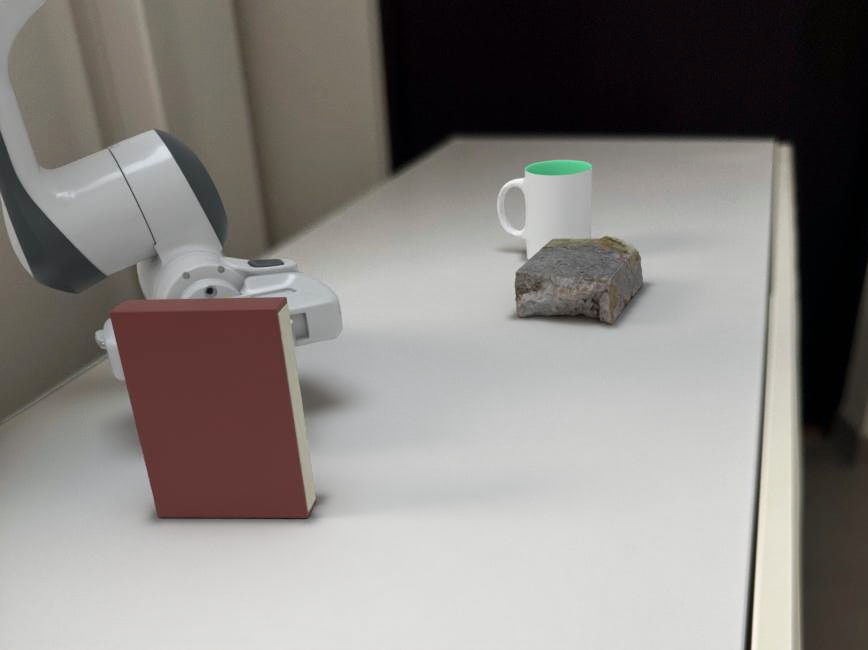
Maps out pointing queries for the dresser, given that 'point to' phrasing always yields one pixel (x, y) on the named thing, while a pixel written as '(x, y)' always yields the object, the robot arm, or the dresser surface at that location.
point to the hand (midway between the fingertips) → (245, 358)
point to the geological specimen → (579, 278)
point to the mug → (552, 203)
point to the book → (217, 406)
